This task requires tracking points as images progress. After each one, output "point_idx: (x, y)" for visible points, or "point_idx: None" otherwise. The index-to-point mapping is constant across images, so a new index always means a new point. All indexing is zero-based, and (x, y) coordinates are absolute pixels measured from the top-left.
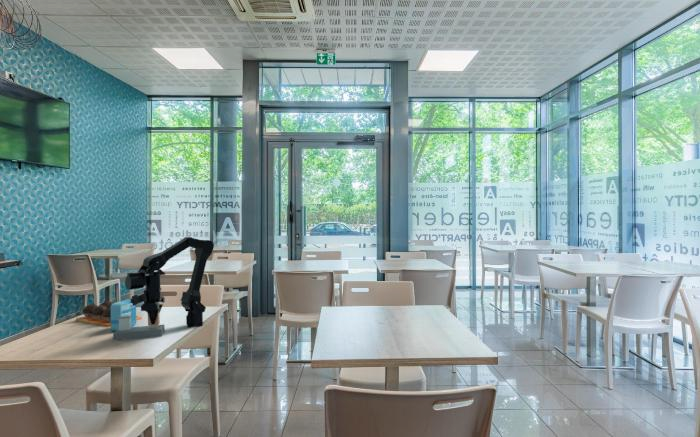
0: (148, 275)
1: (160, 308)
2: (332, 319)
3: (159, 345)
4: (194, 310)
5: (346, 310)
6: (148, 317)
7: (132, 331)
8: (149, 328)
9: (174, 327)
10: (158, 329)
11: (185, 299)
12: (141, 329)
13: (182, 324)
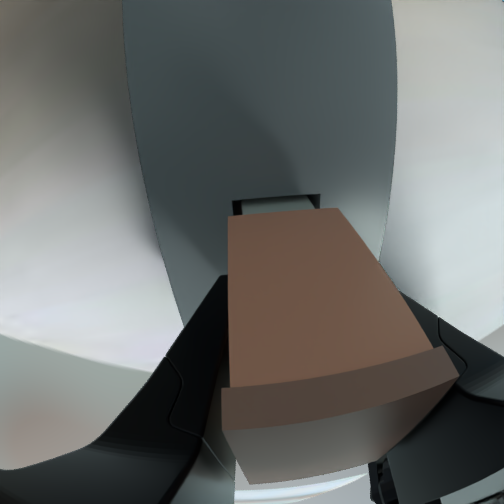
0: None
1: (395, 472)
2: (274, 490)
3: (17, 310)
4: (369, 464)
5: (328, 485)
6: (233, 315)
7: (124, 40)
8: (242, 210)
9: (422, 295)
10: (178, 308)
11: (431, 501)
12: (210, 119)
13: (454, 312)
